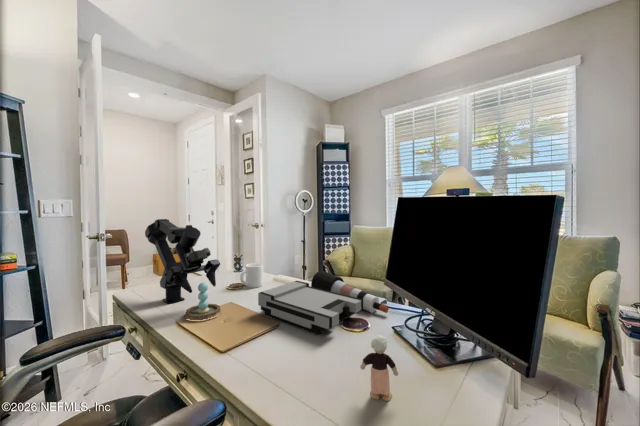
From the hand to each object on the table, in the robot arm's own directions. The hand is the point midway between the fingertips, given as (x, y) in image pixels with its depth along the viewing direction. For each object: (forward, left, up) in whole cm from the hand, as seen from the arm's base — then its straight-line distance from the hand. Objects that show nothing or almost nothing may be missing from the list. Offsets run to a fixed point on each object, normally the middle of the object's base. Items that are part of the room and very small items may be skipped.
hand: (203, 288), depth 99 cm
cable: (+34, +44, -10) cm, 56 cm away
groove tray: (0, 0, -10) cm, 10 cm away
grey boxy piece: (+30, +25, -10) cm, 40 cm away
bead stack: (0, 0, -8) cm, 8 cm away
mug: (-16, +32, -10) cm, 37 cm away
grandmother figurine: (+69, +4, -10) cm, 69 cm away
